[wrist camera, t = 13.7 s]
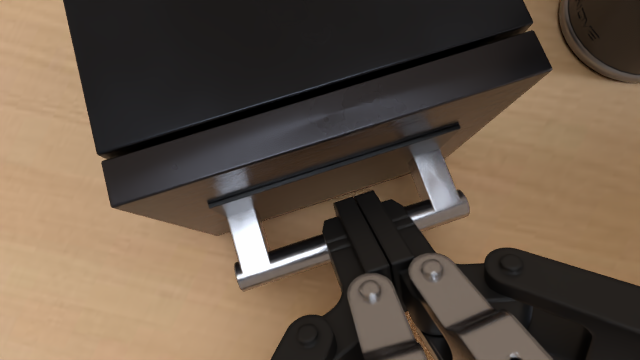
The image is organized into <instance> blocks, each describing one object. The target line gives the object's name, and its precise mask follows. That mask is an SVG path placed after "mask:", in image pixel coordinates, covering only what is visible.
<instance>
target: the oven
mask: <svg viewBox="0 0 640 360" xmlns="http://www.w3.org/2000/svg"><path fill="white" fill-rule="evenodd" d="M63 2H64V7H65V11H66V16H67V20H68V25H69V29H70V34H71V38H72V43H73V47H74V52H75V56H76V61H77V66H78V70H79V75H80V79H81V84H82V88H83V93H84V97H85V102H86V106H87V111H88V115H89V120H90V125H91V129H92V134H93V138H94V143H95V147H96V152H97V154H98V155H99V156H101V157H103V158H105V159H110V158H114V157H117V156H120V155H123V154H127V153H130V152H133V151H137V150H140V149H143V148H146V147H150V146H153V145H156V144H160V143H163V142H166V141H169V140H173V139H176V138H179V137H183V136H186V135H189V134H192V133H196V132H199V131H202V130H206V129H209V128H212V127H216V126H219V125H222V124H225V123H229V122H232V121H235V120H239V119H242V118H245V117H248V116H252V115H255V114H258V113H262V112H265V111H268V110H271V109H275V108H278V107H281V106H285V105H288V104H291V103H294V102H298V101H301V100H304V99H308V98H311V97H314V96H318V95H321V94H324V93H327V92H331V91H334V90H337V89H341V88H344V87H347V86H350V85H354V84H357V83H360V82H364V81H367V80H370V79H373V78H377V77H380V76H383V75H387V74H390V73H393V72H396V71H400V70H403V69H406V68H410V67H413V66H416V65H420V64H423V63H426V62H429V61H433V60H436V59H439V58H443V57H446V56H449V55H452V54H456V53H459V52H462V51H466V50H469V49H472V48H475V47H479V46H482V45H485V44H489V43H492V42H495V41H498V40H502V39H505V38H508V37H512V36H515V35H518V34H522V33H525V31H526V30H527V29H528V28H529V27H530V26H531V25H532V24H533V20H532V18H531V16H530V14H529V12H528V10H527V8H526V6H525V4H524V2H523V0H63Z"/></svg>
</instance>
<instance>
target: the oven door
mask: <svg viewBox="0 0 640 360" xmlns="http://www.w3.org/2000/svg"><path fill="white" fill-rule="evenodd" d="M551 70H552V67H551V65H550V63H549V60H548V58H547V56H546V54H545V52H544V50H543V48H542V46H541V44H540V42H539V40H538V38H537V36H536V34H535V32H534V31H533V30H531V31H528V32H525V33H522V34H518V35H515V36H512V37H508V38H505V39H502V40H498V41H495V42H492V43H489V44H485V45H482V46H479V47H475V48H472V49H469V50H466V51H462V52H459V53H456V54H452V55H449V56H446V57H443V58H439V59H436V60H433V61H429V62H426V63H423V64H420V65H416V66H413V67H410V68H406V69H403V70H400V71H396V72H393V73H390V74H387V75H383V76H380V77H377V78H373V79H370V80H367V81H364V82H360V83H357V84H354V85H350V86H347V87H344V88H341V89H337V90H334V91H331V92H327V93H324V94H321V95H318V96H314V97H311V98H308V99H304V100H301V101H298V102H294V103H291V104H288V105H285V106H281V107H278V108H275V109H271V110H268V111H265V112H262V113H258V114H255V115H252V116H248V117H245V118H242V119H239V120H235V121H232V122H229V123H225V124H222V125H219V126H216V127H212V128H209V129H206V130H202V131H199V132H196V133H192V134H189V135H186V136H183V137H179V138H176V139H173V140H169V141H166V142H163V143H160V144H156V145H153V146H150V147H146V148H143V149H140V150H137V151H133V152H130V153H127V154H123V155H120V156H117V157H114V158H110V159H107V160H104V161H102V168H103V172H104V177H105V182H106V186H107V191H108V195H109V200H110V205H111V207H112V208H115V209H119V210H122V211H126V212H130V213H133V214H137V215H141V216H145V217H148V218H152V219H156V220H160V221H163V222H167V223H171V224H175V225H178V226H182V227H186V228H189V229H193V230H197V231H201V232H204V233H208V234H212V235H216V236H219V235H222V234H225V233H228V232H231V236H232V239H233V243H234V247H235V250H236V254H237V257H238V261H239V262H236V263H235V265H234V270H235V275H236V279H237V282H238V285H239V287H240V289H241V290H242V291H247V290H250V289H253V288H256V287H259V286H262V285H265V284H268V283H271V282H274V281H277V280H280V279H283V278H286V277H289V276H292V275H295V274H298V273H301V272H304V271H307V270H310V269H313V268H316V267H319V266H322V265H325V264H328V263H331V260H330V257H329V253H328V250H327V246H326V243H325V239H324V236H323V234H321V235H318V236H315V237H312V238H309V239H306V240H303V241H300V242H297V243H294V244H290V245H287V246H284V247H281V248H278V249H275V250H272V251H270V247H269V244H268V240H267V237H266V234H265V230H264V227H263V224H262V221H265V220H268V219H271V218H274V217H277V216H281V215H284V214H287V213H290V212H293V211H296V210H299V209H302V208H305V207H308V206H311V205H314V204H318V203H321V202H324V201H327V200H330V199H333V198H336V197H339V196H342V195H345V194H348V193H351V192H355V191H358V190H361V189H364V188H367V187H370V186H373V185H376V184H379V183H382V182H385V181H389V180H392V179H395V178H398V177H401V176H404V175H407V174H410V173H411V175H412V178H413V180H414V183H415V185H416V188H417V191H418V193H419V196H420V198H421V202H418V203H415V204H412V205H409V206H406V207H404V208H405V210H406V211H407V213H408V214H409V216H410V217H411V218H412V220H413V221H414V223H415V225H416V226H417V227H418V228H419V230H420V231H421V232H423V231H426V230H429V229H432V228H435V227H438V226H441V225H444V224H447V223H450V222H453V221H456V220H459V219H462V218H465V217H467V216H469V214H470V207H469V203H468V201H467V198H466V197H465V195H464V194H463V192H462V191H460V190H456V188H455V185H454V183H453V180H452V178H451V175H450V173H449V170H448V168H447V166H446V163H445V161H444V159H445V158H446V157H448V156H449V155H450V154H451V153H452V152H454V151H455V150H456V149H457V148H458V147H460V146H461V145H462V144H463V143H464V142H466V141H467V140H468V139H469V138H471V137H472V136H473V135H474V134H475V133H477V132H478V131H479V130H480V129H481V128H483V127H484V126H485V125H486V124H487V123H489V122H490V121H491V120H492V119H494V118H495V117H496V116H497V115H498V114H500V113H501V112H502V111H503V110H504V109H506V108H507V107H508V106H509V105H510V104H512V103H513V102H514V101H515V100H516V99H518V98H519V97H520V96H521V95H523V94H524V93H525V92H526V91H527V90H529V89H530V88H531V87H532V86H533V85H535V84H536V83H537V82H538V81H539V80H541V79H542V78H543V77H544V76H546V75H547V74H548V73H549V72H550V71H551Z"/></svg>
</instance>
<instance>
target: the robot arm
mask: <svg viewBox="0 0 640 360" xmlns="http://www.w3.org/2000/svg"><path fill="white" fill-rule="evenodd" d="M559 19H560V25H561V29H562V32H563V35H564V37H565V39H566V41H567V43H568V45H569V46H570V48H571V49H572V51H573V52H574V53H575V54H576V55H577V57H578V58H579V59H581V60H582V61H583V62H584V63H585V64H586V65H587V66H589V67H590V68H592V69H593V70H595V71H597V72H598V73H600V74H602V75H604V76H607V77H609V78H612V79H615V80H619V81H624V82H633V83H640V0H561V2H560V8H559ZM334 208H335V212H336V216H337V217H334V218H331V219H328V220H325V221H324V226H323V231H322V232H323V236H324V239H325V243H326V246H327V250H328V253H329V257H330V260H331V263H332V266H333V269H334V271H335V274H336V277H337V280H338V282H339V285H340V288H341V291H342V295H341V298H340V300H339V302H338V303H337V305H336V306H335V307H334V308H333V309H332V310H330V311H329V312H328V313H326V314H325V315H323V316H319V315H306V316H302V317H300V318H298V319H297V320H295V321H294V322H293V323H292V324H291V325H290V326H289V327H288V329H287V330H286V332H285V334H284V336H283V338H282V340H281V341H280V343H279V345H278V347H277V349H276V351H275V352H274V354H273V356H272V358H271V360H427V357H426V355H425V353H424V350H423V348H422V346H421V345H420V343H417V342H416V340H415V338H414V335H413V333H412V330H411V328H410V325H409V323H408V320H407V318H406V315H405V313H404V312H407V311H408V312H409V314H410V316H411V318H412V320H413V322H414V324H415V326H416V331H417V333H418V335H419V336H420V338H421V339H422V341H423V343H424V344H425V346H426V348H427V349H428V351H429V352H430V354H431V356H432V357H433V359H434V360H640V286H637V285H634V284H630V283H627V282H624V281H620V280H617V279H614V278H611V277H607V276H604V275H601V274H598V273H594V272H591V271H588V270H584V269H581V268H578V267H575V266H571V265H568V264H565V263H562V262H558V261H555V260H552V259H548V258H545V257H542V256H539V255H535V254H532V253H529V252H526V251H522V250H519V249H515V248H499V249H496V250H493V251H492V252H490V253H489V254H488V255H487V256H486V258H485V263H481V264H455V263H454V262H453V261H452V260H451V259H449V258H448V257H446V256H444V255H441V254H437V253H436V252H435V251H434V250H433V248H432V247H431V245H430V244H429V243H428V241H427V240H426V238H425V237H424V236H423V234H422V233H421V231H420V230H419V228H418V227H417V226H416V225H415V223H414V221H413V220H412V218H411V217H410V216H409V214H408V213H407V211H406V210H405V208H404V207H403V206H402V205H401V204H399V203H397V202H395V201H394V200H392V199H390V200H387V201H384V202H381V201H380V200H379V198H378V197H377V195H376V194H375V192H374V191H373V190H372V191H369V192H366V193H363V194H360V195H357V196H354V198H353V197H350V198H347V199H344V200H341V201H338V202H335V203H334Z"/></svg>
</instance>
